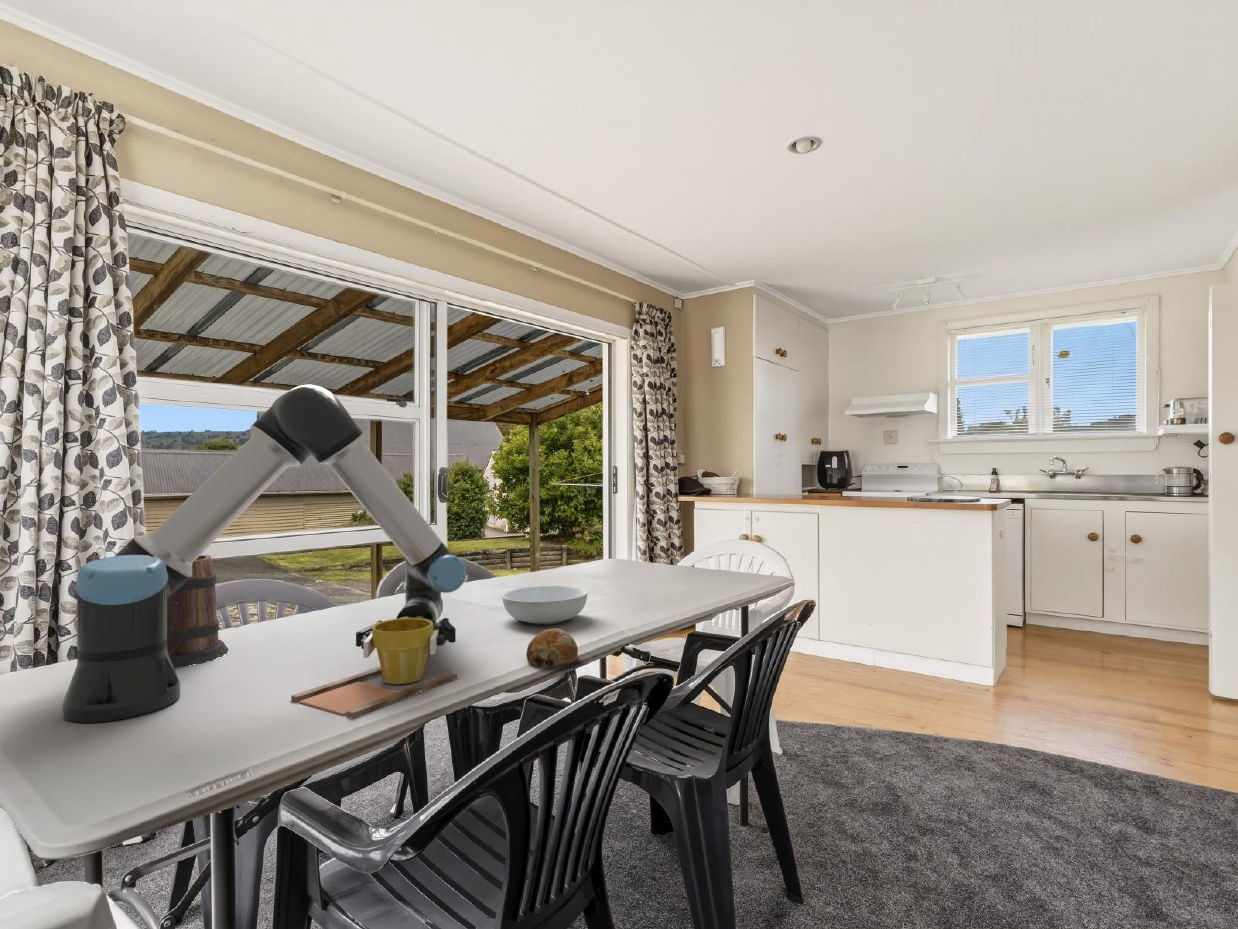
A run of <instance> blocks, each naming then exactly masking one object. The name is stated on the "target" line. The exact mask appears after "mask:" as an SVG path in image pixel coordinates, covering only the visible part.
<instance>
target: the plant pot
mask: <svg viewBox="0 0 1238 929" xmlns="http://www.w3.org/2000/svg"><path fill="white" fill-rule="evenodd" d="M382 621H383V622H380V623H377V624H375V623H374V624H375V625H374V626H373V628H372V641H373V646H374V647H375V649H376V651H377V652H376V653H377V656H378V660H379V665H380V667H381V669H382V674H381V675H382V678H383V681H384V682H385V683H386V684H390V685H405V684H410V683H411V684H412V683H416V682H417V681H419V680H421V679H422V678H423V676H424V672H425V671H424V670H425V668H426V667H425V666H426V662H427V657H428V652H429V649H430V638H431V636H432V634H433V622H432V621H431V620H428V619H423V618H399V619H396V618H393V619H388V620H382Z"/></svg>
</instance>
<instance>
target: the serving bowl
mask: <svg viewBox="0 0 1238 929" xmlns="http://www.w3.org/2000/svg"><path fill="white" fill-rule="evenodd" d="M501 599H502V603H503V607H504V610H506V612H507V613H508V614H509V615H510V617H512V618H514V619H516V620H518V621H521V622H525V623H529V624H531V623H532V625H540V624H544V625H554V623H555V624H559V623H561V622H563V621H567V620H570V619H572V618H574V617H575V616H578V614H580V613H581V611H583V609H584V608H585V605H586V603H587V600H588V591H587V590H586V589H584V588H581V587H578V586H570V585H539V586H529V587H527V586H526V587H522V588H515V589H511V590H508V591H506V592H504V593H503V594H502V595H501Z"/></svg>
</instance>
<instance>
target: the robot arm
mask: <svg viewBox="0 0 1238 929" xmlns="http://www.w3.org/2000/svg"><path fill="white" fill-rule="evenodd" d="M364 436H365V432H363V430H362V429H361V428H360V427H359V426H358V424H357V422H356V421H355V420H354V418H353V417H352V416H351V415H350V413H349V411H348V410H347V409H346V408H345V406H344V405H343V403H342V402H341V401H340V400H339V398H338V397H337V396H336V395H335V394H334V393H332V392H331V391H329V390H328V389H326V388H324V387H322V386H318V385H315V384H304V385H298V386H296V387H294V388H293V387H292V388H291V389H290V390H288V391H287V392H286V393H284V394H282V395H281V396H279V397H278V398H277V399H275V401H274V402H273V403H272V405H271V406H270V407H269V408H268V409H267V410H266V411H265V412H264V413H263V414H262V415H260V417H258V419H256V421H255V422H253V424H251V426H250V438H249V439H248V440H246V442H244V443H243V445H242V446H241V447H240V448H238V450H237V451H235V452H234V453H233V455H231V456H230V457H229V458H228V459H227V460H226V461H225V462H224V463H223V464H221V466H220V467H219V468H218V469H217V470H216V471H214V473H213V474H211V476H210V477H209V478H207V479H206V480H205V481H204V482H203V483H202V484H201V485H200V486H199V487H198V488H197V489H196V490H195V491H194V492H193V493H192V494H190V495H189V496H188V497H187V498H186V500H185V501H184V502H182V503H181V504H180V505H179V506H178V507H177V508H176V509H175V510H173V512H172V513H171V514H170V515H169V516H168V517H167V518H165V520H164V521H162V522H161V524H160V525H158V526H157V527H156V528H155V529H154V530H153V531H152V532H151V533H149V534H147V535H146V534H145V535H135V536H134V537H133V538H132V539H130V541H128V543H126V545H124V546H123V547H122V548H121V549H120V550H119V551H118V552H117V553H116V554H114V555H113V556H109V557H104V558H99V559H97V560H91V561H89V562H87V563H84V564H83V565H82V566H81V567H80V568H79V569H78V572H77V575H76V576H77V577H76V581H75V585H74V590H75V591H76V601H77V602H76V607H77V608H76V612H77V613H76V615H77V616H76V626H77V628H76V631H77V632H76V644H77V645H76V651H77V652H76V654H77V658H76V659H77V661H76V662H77V663H76V667H75V669H74V672H73V675H72V677H71V680H70V683H69V685H68V688H67V691H66V694H65V696H64V699H63V700H62V701H63V702H62V718H63V719H64V720H65V721H68V722H73V723H101V722H103V723H104V722H111V721H117V720H123V719H130V718H134V717H137V716H142V715H145V714H149V713H152V712H156V711H159V710H162V709H163V708H166V707H168V706H171V705H172V704H174V703H175V702H176V701H178V700H179V699H180V697H181V683H180V679H179V677H178V675H177V672H176V670H175V669H176V668H174V667H173V664H172V662H171V660H170V657H169V655H168V652H167V601H168V600H169V599H170V598H171V597H172V596H173V595H174V594H175V593H176V592H177V591H178V590H179V589H180V588H181V586H182V585H183V584H184V583H185V582H186V581H187V580H188V579H189V578H190V577H191V576H192V563H193V562H194V561H195V560H196V559H197V558H198V557H199V556H201V555H202V554H203V553H204V552H205V551H206V550H207V549H208V548H209V547H211V545H212V544H213V543H214V542H215V541H216V540H217V539H218V538H219V537H220V536H221V535H222V534H223V533H224V532H225V531H226V530H227V529H228V528H229V527H230V526H231V524H233V523H234V521H236V520H237V518H239V516H241V514H243V512H244V511H246V510H247V509H248V508H249V506H251V504H252V503H253V502H254V501H255V500H256V499H258V498H259V496H261V495H262V494H263V492H265V491H266V489H268V487H270V485H272V484H273V482H274V481H276V479H277V478H278V477H279V476H280V475H281V474H283V472H284V471H286V469H287V468H292V467H300V466H302V465H303V463H305V461H307V459H308V458H309V457H310V456H313V457H314V458H315V460H316V461H317V462H318V464H320V465H325V466H328V467H330V469H331V470H332V472H334V474H335V475H336V477H338V479H339V480H340V481H341V482H342V483H343V485H344V486H345V487H346V488H347V489H348V491H349V492H350V493H351V494H352V495H353V496H354V498H355V499H356V500H357V501H358V502H359V504H360V505H361V506H362V507H363V509H364V510H365V511H366V513H368V515H369V516H370V517H371V519H373V521H374V522H375V523H376V524H377V525H378V528H379V527H380V529H381V531H383V534H385V535H386V536H387V538H388V539H389V540H390V541H391V542H392V543H393V544H394V546H395V547H396V549H397V550H399V552H400V554H402V555H403V556H404V563H405V564H404V567H405V574H404V575H405V593H404V594H405V605H404V606H402V608H401V609H400V612H398V614H397V616H396V618H395V619H399V618H423V619H428V620H431V621H432V622H433V634H432V636H431V638H430V644H429V656H431V655H432V656H433V655H435V654H436V652H437V649H438V647H440V646H441V647H442V646H444V645H445V643H446V642H448V643H456V641H457V640H456V637H457V636H456V632H457V631H456V627H455V626H453V624H451V623H450V622H449V621H450V620H449V617H444V618H442V619H440V617H441V615H442V613H443V608H444V607H443V606H444V602H443V598H442V594H445V593H447V594H448V593H449V594H450V593H453V592H455V591H457V590H458V589H460V588H461V587H462V585H463V584H464V583H465V580H466V577H467V568H466V564H465V563H464V562H463V560H462V559H460V558H459V556H457V555H455V554H453V553H452V552H451V551H450V550H449V549H448V547H447V546H446V544H445V543H444V542H443V541H442V540H441V538H440V537H439V535H438V534H437V533H436V531H434V530H433V528H432V526H430V524H429V523H428V521H427V520H425V518H424V516H423V515H422V514H421V513H420V512H419V510H418V509H417V508H416V507H415V505H414V504H413V503H412V501H410V498H408V496H407V495H406V494H405V493H404V491H403V489H401V488H400V486H399V485H398V484H397V483H396V482H395V480H394V478H393V477H392V476H391V475H390V473H388V471H387V470H386V469H385V467H384V466H383V465H382V463H381V462H380V461H379V460H378V458H377V457H376V456H375V455H374V453H373V451H371V450H370V449H369V447H368V446H367V445H366V443H365V442H364ZM439 619H440V620H439ZM383 621H384V620H381V619H380V620H377V621H376V622H375V623H374V624H371V625H369V626H367V627H364V628H362V629H360V630H358V631H356V632H355V646H356V647H359V648H360V647H361V649H362V650H363V658H364V659H368V658H369V657H370V656H371V655H372V653H373V652H374V650H376V648H375V647H374V646H373V641H372V628H373V626H374V625H375V624H377V623H380V622H383ZM437 621H438V622H437Z"/></svg>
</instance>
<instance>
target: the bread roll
mask: <svg viewBox="0 0 1238 929" xmlns="http://www.w3.org/2000/svg"><path fill="white" fill-rule="evenodd" d="M578 650H579V648H578V645H577V643H576V641H575V639H574V638H573V636H572V635H571V634H569V633H568V632H567V631H565V630H563V629H561V628H548V629H543V630H542V631H540V632H538V633H537V634H536V635H535V636H534V637H533V638H532V639H531V640H530V642H529V643H528V646H527V648H526V655H525V656H526V660H527V662H528V663H529V664H530V665H532V666H537V667H540V668H553V667H554V668H555V667H562V666H568V665H569V664H572V663H574V662H575V661H576V660H577V659H578V655H579V654H578V653H579V652H578Z"/></svg>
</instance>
